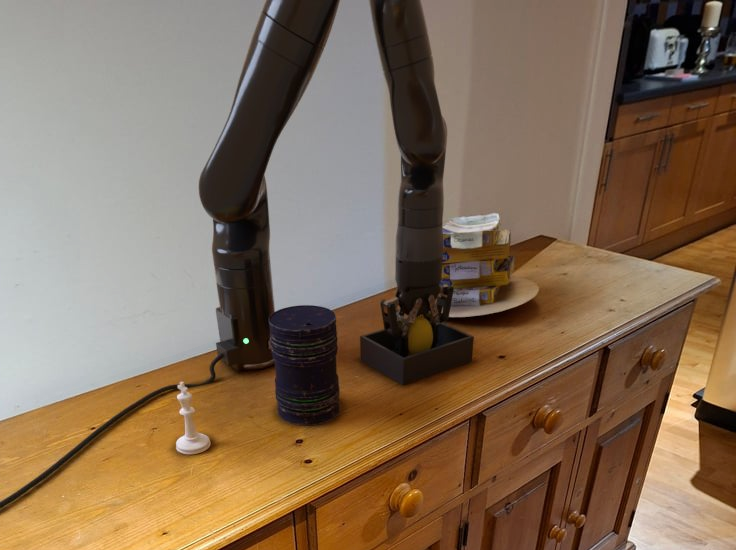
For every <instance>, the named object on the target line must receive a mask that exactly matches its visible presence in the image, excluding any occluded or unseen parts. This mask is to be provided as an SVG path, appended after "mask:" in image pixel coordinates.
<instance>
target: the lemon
mask: <svg viewBox="0 0 736 550" xmlns="http://www.w3.org/2000/svg"><path fill="white" fill-rule="evenodd" d="M407 337H408V355H409V356H411V355H414V354H417V353H420V352H423V351H426V350H429V349H430V348H431V345H432V342H433V332H432V327H431V324H430V323H429V321H428V320H427V319H426V318H424V316H422V315H419V316H418V317H416V318H415V321H414V324H413V325H411V326H410V329H409V332H408V335H407Z"/></svg>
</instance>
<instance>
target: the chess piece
mask: <svg viewBox="0 0 736 550" xmlns="http://www.w3.org/2000/svg"><path fill="white" fill-rule="evenodd" d="M179 384H180V385H178V389H177V390H180V393H178V394H177V395H176V398H177V401H178V402H179V404H180V406H181V408H180V409H179V414H180V415H182V416H184V433H185V434H183V435H182V436H180V437H179V438H178V439H177V440H176V442H175V449H176V451H177V452H178V453H180V454H183V455H197V454H200V453H204V452H205V451H207V450H208V449H209V448H210V447H211V440H210V437H209V436H208V435H206V434H205V433H201V432H198V431H197V428H196V425H195V422H194V418H193V416H192V415H193V414H194V413H195V412H196V410H195V408H194V407H192V406H191V404H192V400H193V399H192V398H193V395H192V393H191V392H189V388H187V387H185V385H184V384H185V382H184V381H180V382H179Z"/></svg>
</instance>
